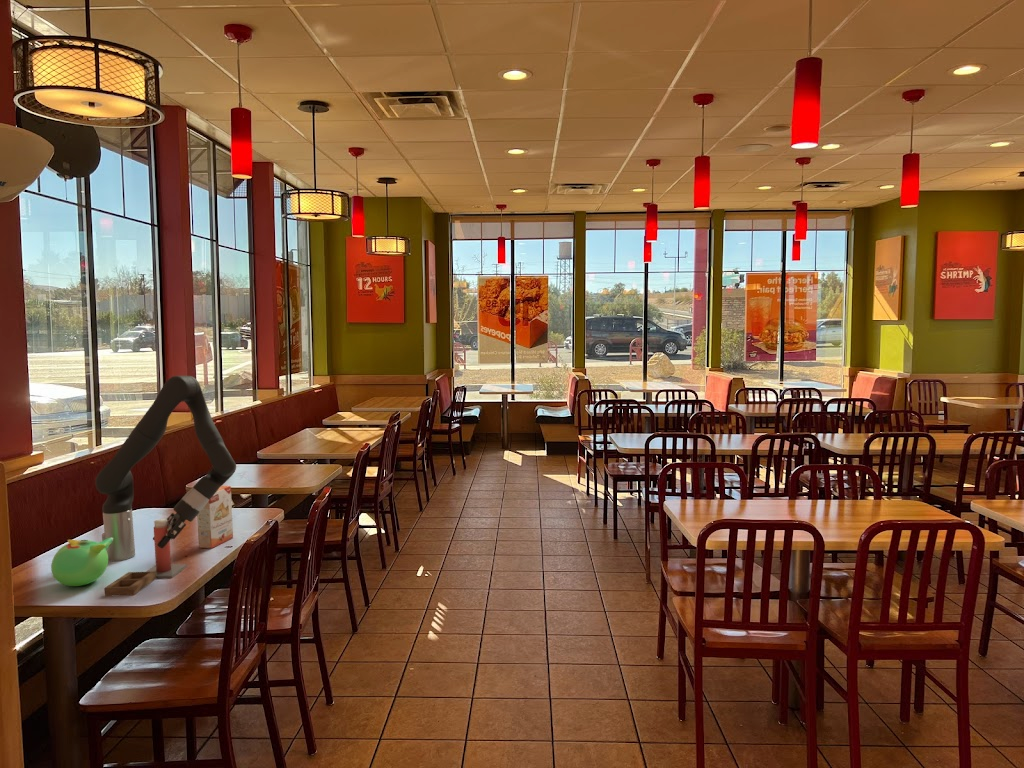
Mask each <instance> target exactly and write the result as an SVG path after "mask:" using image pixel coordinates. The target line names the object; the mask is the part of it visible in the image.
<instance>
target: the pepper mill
mask: <svg viewBox="0 0 1024 768" xmlns="http://www.w3.org/2000/svg"><path fill="white" fill-rule="evenodd" d="M153 522H154V523H153V525H154V527H153V537H154V540H153V541H154V555H155V556H154V558H155V559H154V560H155V565H156V572H167V571H170V570H171V565H172V556H171V555H172V554H171V540H170V541H169V542H168V543H167V544H166V545H165V546H164V548H160V547H158V546H157V544H158V542H159V541H160V540H161V539H162V538H163V537H164V536H165V534H166V533H167V528H168V526H169V525H168V524H169V523H168V520H167V518H160V519H159V518H158V519H155V520H154V521H153Z"/></svg>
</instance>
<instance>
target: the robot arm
mask: <svg viewBox="0 0 1024 768" xmlns="http://www.w3.org/2000/svg"><path fill="white" fill-rule="evenodd" d="M157 394H158V395H157V396H156V398H155V400H154V402H153V403H152V404H151V406H150V407H149V408H148V409H147V411H146V412H145V413H144V415H143V416H142V417H141V419H140V420H139V422H137V424H136V425H135V426H134V428H133V430H132V431H131V432H130V433H129V435H128V436H127V438H126V439H125V440H124V442H123V444H122V445H121V446H120V448H119V449H118V450H117V452H116V454H115V455H114V456H113V457H112V458H111V460H110V461H109V462H108V463H107V464H106V465H105V466H104V467H103V468H102V469H101V470H100V471H99V472H98V473H97V474H96V477H95V480H94V481H95V482H94V483H95V488H96V490H97V492H99V493H100V494H103V495H107V497H106V500H105V502H104V503H103V504H102V520H103V532H102V534H101V542H102V541H104V540H106V539H108V538H111V537H112V538H113V541H112V543H111V544H110V545H109V547H108V548H107V550H106V551H107V554H108V562H116V561H117V562H118V561H124V560H128V559H130V558H133V557H135V556H136V548H135V547H136V546H135V531H134V518H133V508H132V507H133V506H132V505H133V502H134V497H135V495H134V477H133V474H132V471H131V470H132V469H133V467H134V466H135V465H136V464H138V462H140V461H142V460H143V459H144V458H145V457H146V456H147V455H148V454H150V453H151V452H152V450H154V449H155V447H156V446H157V445H158V444H159V442H160V441H161V439H162V438H163V436H164V435H165V433H166V431H167V426H168V421H169V418H170V415H172V413H173V411H175V409H176V408H177V407H178V405H180V404H181V403H182V402H184V403H185V404H186V405H187V407H188V408H189V410H190V413H191V415H192V418H193V424H194V425H193V426H194V431H195V435H196V437H197V439H198V441H199V443H200V445H201V447H202V449H203V451H204V452H205V453H206V455H207V457H208V460H209V462H210V464H211V466H212V468H211V469H210V470H209V471H208V472H207V473H206V475H203V476H202V477H201V478H200V479H199V480H198V481H197V482H196V483H195V484H194V486H193V487H192V488H190V490H188V491H187V492H186V493H185V494H184V496H182V498H181V499H180V500H179V501H178V502H177V504H176V505H174V506H173V508H172V510H173V511H174V512H175V513H174V512H172V513H171V514H170V515H169V516H168V517H167V518H166V519H167V520H168V525H169V526H168V528H167V533H166V534H165V536H164V537H163V538H162V539H161V540H160V541H159V542H158V544H157V546H158V547H160V548H164V546H165V545H166V544H167V543H168V542H169V541H170V542H171V540H175V539H176V537H177V536H178V535H179V534H180V533H181V532H182V530H184V528H185V527H186V525H187V524H186V523H185V522H186V521H188V522H192V521H194V520H195V518H196V517H197V515H198V514H199V512H200V511H201V510H202V509H203V508H204V507H205V505H206V504H207V502H208V501H209V500H210V499H211V497H212V496H213V495H214V494H215V493H216V492H217V490H218V489H219V488H220V487H221V486H224V484H225V483H226V482H227V481H229V480H230V478H231V477H233V475H234V474H235V472H236V471H237V464H236V462H235V460H234V458H233V457H232V455H231V453H230V451H229V450H228V448H227V447H226V445H225V442H224V439H223V437H222V436H221V434H220V432H219V430H218V428H217V427H216V426H217V425H215V422H214V420H213V418H212V415H211V414H210V410H209V407H208V405H207V402H206V399H205V396H204V393H203V390H202V386H201V385H200V382H199V380H197V378H195V377H194V376H192V375H175V376H171V377H169V378H168V379H167V380H166V381H165V383H164V384H163V385H162V387H161V390H160V391H159V392H158V393H157ZM152 541H154V536H153V538H152Z"/></svg>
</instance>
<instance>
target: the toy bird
mask: <svg viewBox="0 0 1024 768" xmlns="http://www.w3.org/2000/svg"><path fill="white" fill-rule="evenodd" d="M112 541H113V538H112V537H111V538H108V539H106V540H104V541H102V540H101V541H100V542H97V541H93V540H88V539H80V540H76V539H67V544H65V545H64V546H62V547H61V548H59V549H58V551H56V553H55V554H54V556H53V558H52V561H51V565H50V567H51V568H50V569H51V574H52V577H53V578H54V580H55V581H57V582H58V583H60V584H62V585H65V586H69V587H80V586H85V585H89V584H92V583H93V582H95V581H97V580H99V578H101V577H102V575H103V574H104V573H105V571H106V570H107V567H108V563H109V561H108V554H107V551H106V550H107V548H108V547H109V545H110V544H111V543H112Z"/></svg>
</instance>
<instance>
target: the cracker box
mask: <svg viewBox="0 0 1024 768" xmlns="http://www.w3.org/2000/svg"><path fill="white" fill-rule="evenodd" d="M232 509H233V507H232V487H231V486H230V485H222V486H221V487H220V488H219V489H218V490H217V492H216V493H215V494H214V495H213V496H212V497H211V499H210V500H209V501H208V502H207V504H206V505H205V507H204V508H203V509H202V510H201V511H200V512H199V514H198V515H197V516H196V517H197V533H198V536H197V537H198V548H199V549H214V548H215V547H217V546H219V545H221V544H223V543H225V542H228V541H230V540H231V538H232V539H234V531H233V530H234V529H233V527H234V526H233V511H232ZM229 539H230V540H229Z"/></svg>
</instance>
